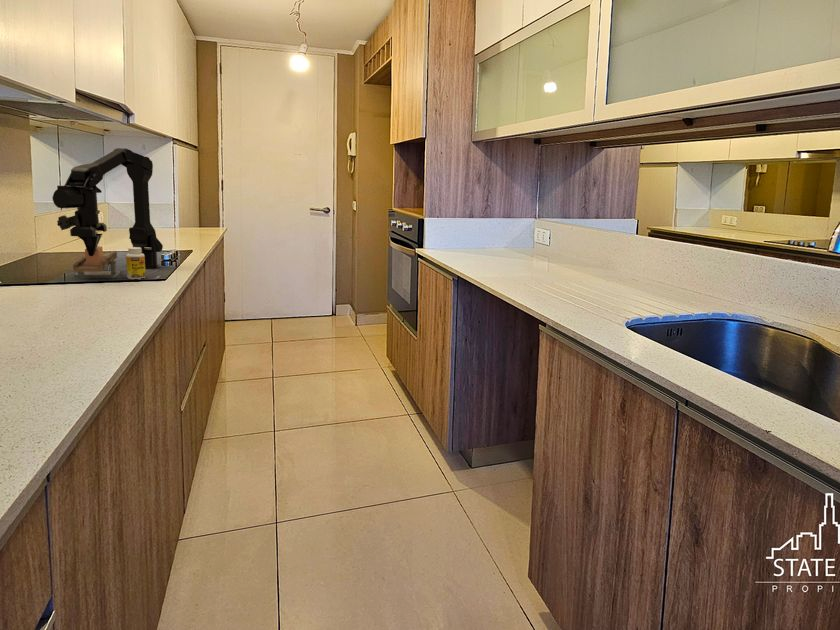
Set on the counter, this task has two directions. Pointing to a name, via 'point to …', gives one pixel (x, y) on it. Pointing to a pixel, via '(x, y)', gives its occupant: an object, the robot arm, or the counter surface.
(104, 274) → the pivot stand
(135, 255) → the supplement bottle
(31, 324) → the counter surface
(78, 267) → the brown tray
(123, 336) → the counter surface
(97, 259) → the rider block
